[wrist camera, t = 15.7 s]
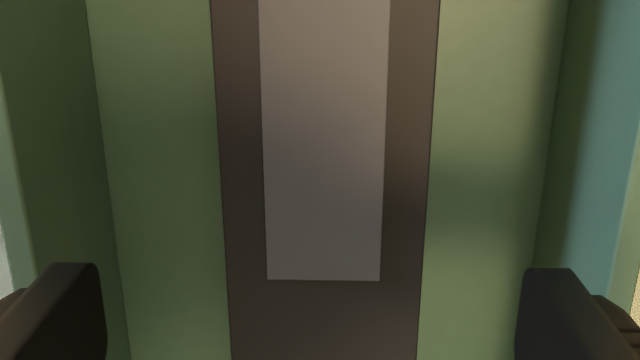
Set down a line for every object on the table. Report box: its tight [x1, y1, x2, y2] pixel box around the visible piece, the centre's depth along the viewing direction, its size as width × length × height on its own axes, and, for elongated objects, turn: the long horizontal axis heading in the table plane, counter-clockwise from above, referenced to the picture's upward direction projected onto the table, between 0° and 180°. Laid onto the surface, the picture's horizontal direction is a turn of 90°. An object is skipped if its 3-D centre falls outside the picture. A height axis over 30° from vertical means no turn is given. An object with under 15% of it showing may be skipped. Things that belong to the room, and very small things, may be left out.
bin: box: [0, 0, 640, 360], centre depth 15 cm, size 13×21×5 cm, turn 0°
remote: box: [209, 0, 441, 360], centre depth 15 cm, size 5×16×3 cm, turn 0°
